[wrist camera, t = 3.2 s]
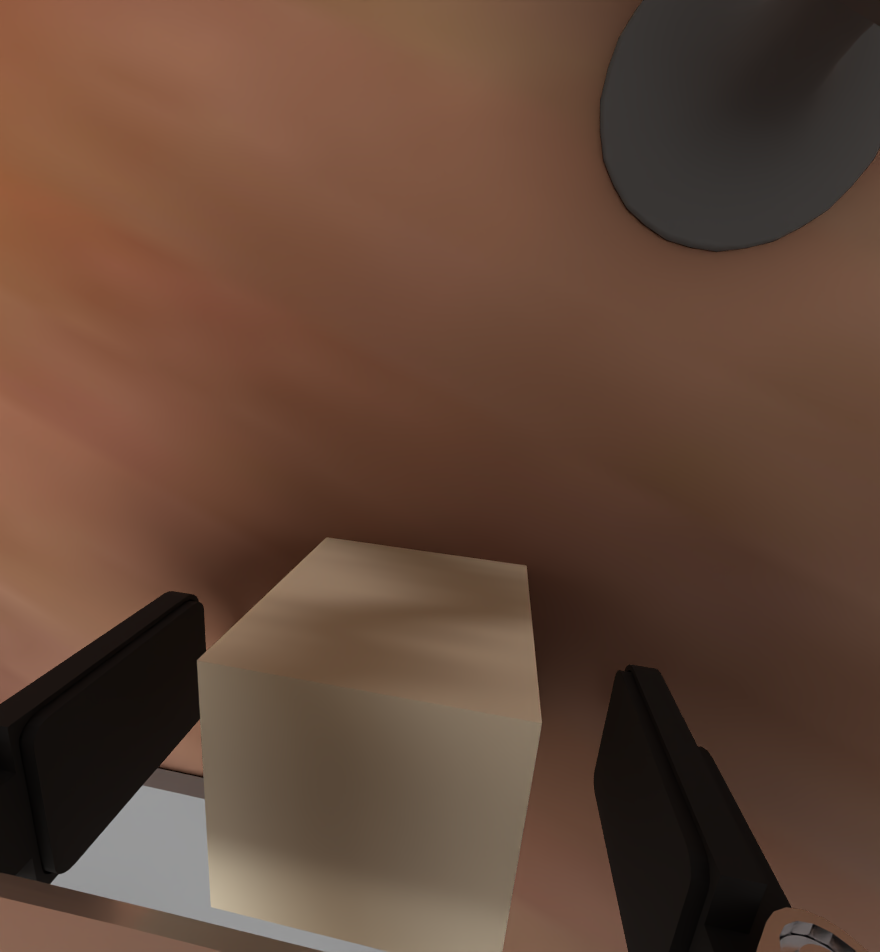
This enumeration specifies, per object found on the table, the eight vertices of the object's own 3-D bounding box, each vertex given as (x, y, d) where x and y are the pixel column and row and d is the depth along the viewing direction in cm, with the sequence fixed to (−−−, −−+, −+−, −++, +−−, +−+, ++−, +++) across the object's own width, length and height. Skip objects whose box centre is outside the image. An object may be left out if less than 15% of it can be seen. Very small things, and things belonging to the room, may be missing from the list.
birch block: (526, 564, 11) (541, 723, 6) (501, 734, 12) (497, 979, 7) (328, 536, 11) (197, 660, 7) (323, 701, 13) (210, 907, 8)
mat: (468, 834, 13) (466, 861, 12) (424, 1160, 17) (421, 1193, 16) (-167, 698, 15) (-197, 714, 15) (-74, 1008, 19) (-95, 1032, 19)
